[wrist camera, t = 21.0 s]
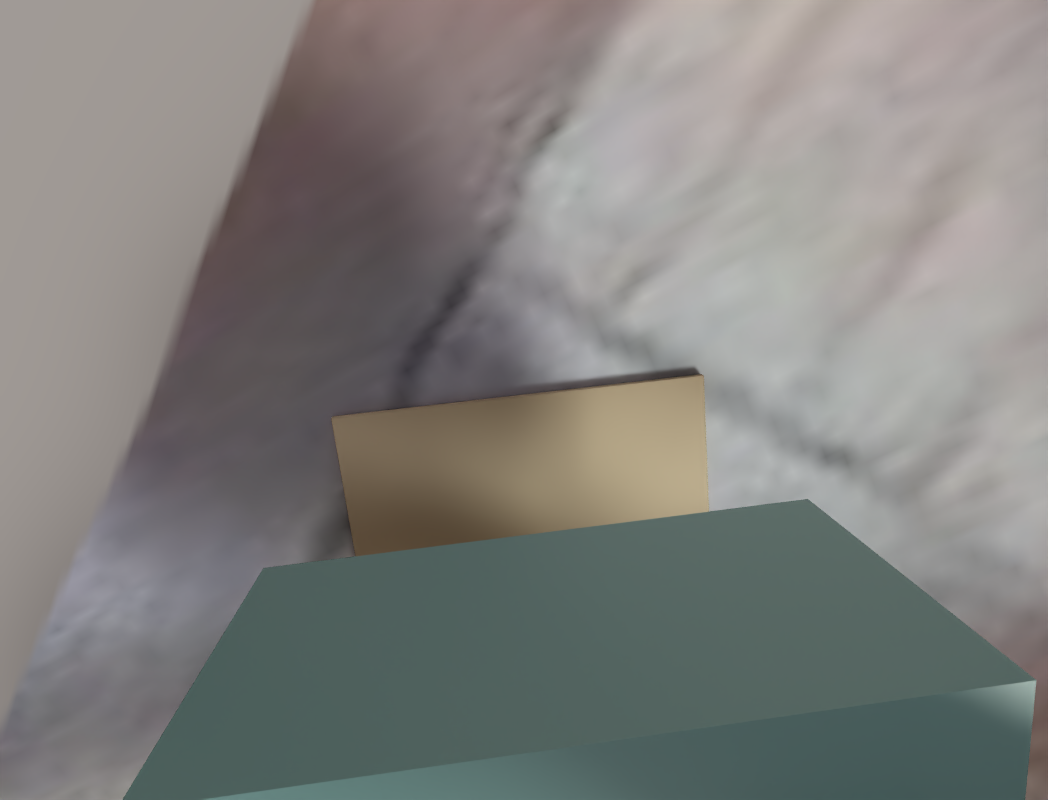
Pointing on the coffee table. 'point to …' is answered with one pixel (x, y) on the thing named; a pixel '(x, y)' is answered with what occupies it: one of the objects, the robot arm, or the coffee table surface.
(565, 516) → the pad
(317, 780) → the cover
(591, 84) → the coffee table surface
